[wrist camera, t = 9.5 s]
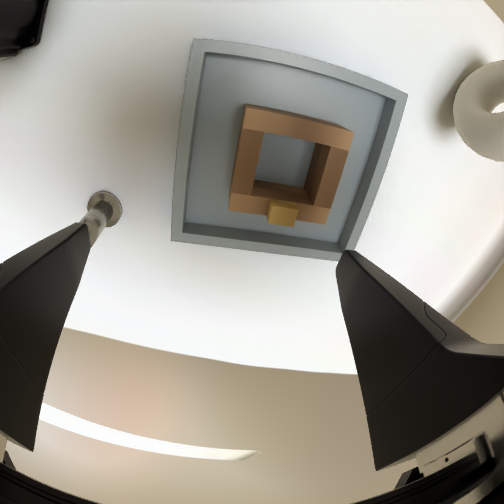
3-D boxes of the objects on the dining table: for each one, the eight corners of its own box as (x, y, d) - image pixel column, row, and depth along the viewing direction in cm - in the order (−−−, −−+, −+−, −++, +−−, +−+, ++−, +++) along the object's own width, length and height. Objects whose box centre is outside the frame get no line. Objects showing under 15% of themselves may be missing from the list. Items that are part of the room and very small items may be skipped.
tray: (197, 42, 14) (193, 38, 12) (394, 91, 16) (408, 94, 15) (175, 227, 22) (170, 240, 20) (341, 248, 24) (348, 262, 22)
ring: (229, 191, 20) (228, 218, 17) (245, 103, 16) (247, 109, 13) (314, 205, 21) (329, 232, 18) (337, 123, 17) (360, 136, 14)
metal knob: (88, 190, 19) (61, 217, 16) (121, 192, 20) (98, 221, 16) (91, 222, 21) (68, 253, 17) (122, 226, 21) (103, 259, 18)
